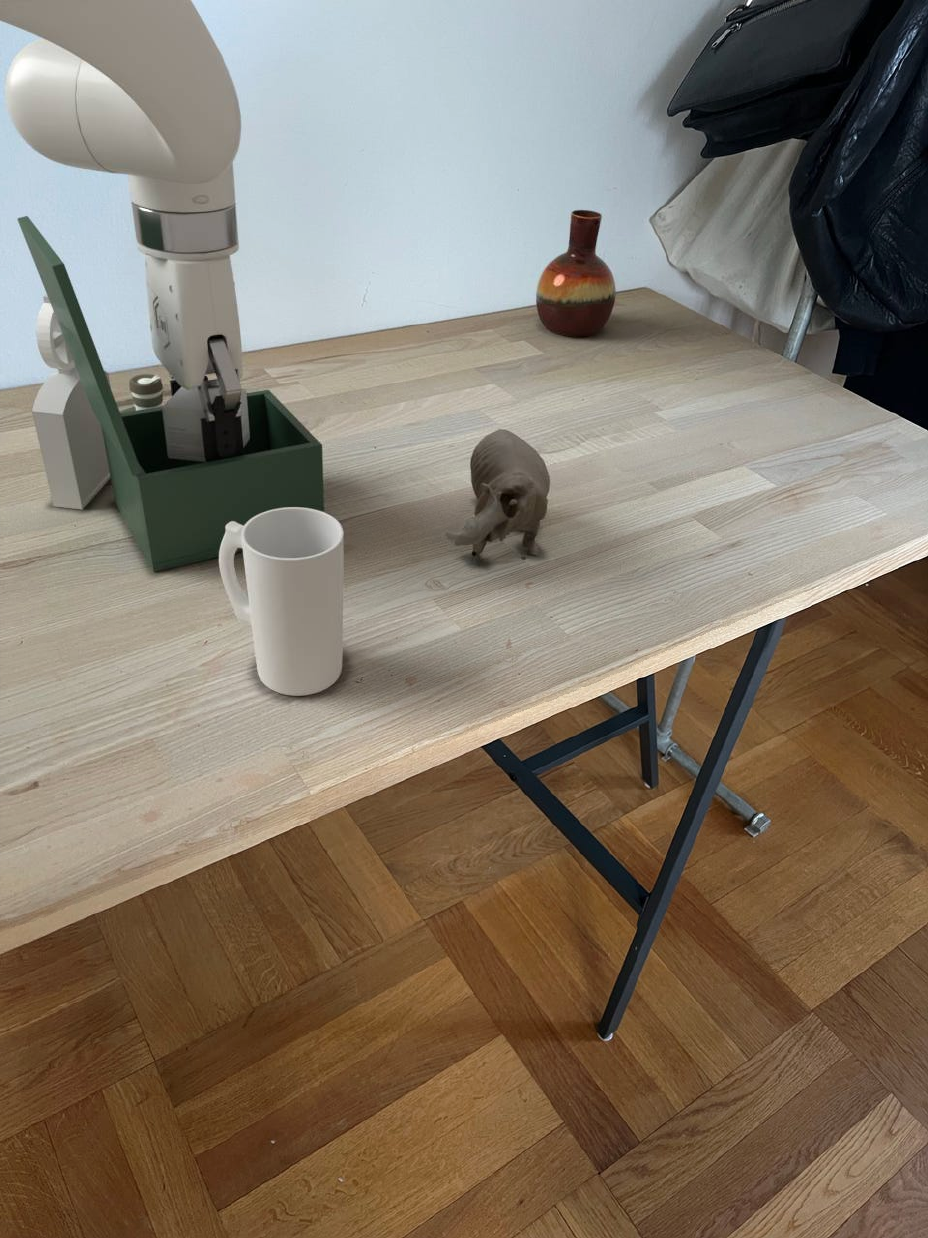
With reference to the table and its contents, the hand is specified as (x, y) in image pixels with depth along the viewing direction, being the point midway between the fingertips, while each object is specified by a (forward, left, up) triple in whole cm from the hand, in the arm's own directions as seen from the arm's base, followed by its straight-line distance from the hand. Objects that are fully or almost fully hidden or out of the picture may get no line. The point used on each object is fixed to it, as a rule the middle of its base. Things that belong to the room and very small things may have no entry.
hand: (208, 439), depth 81 cm
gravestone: (-9, +11, -8) cm, 16 cm away
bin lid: (-9, 0, +9) cm, 13 cm away
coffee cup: (0, +22, -8) cm, 24 cm away
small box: (0, 0, -1) cm, 1 cm away
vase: (+62, +30, -8) cm, 70 cm away
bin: (0, 0, -8) cm, 8 cm away
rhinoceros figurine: (+21, -15, -8) cm, 27 cm away
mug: (-2, -22, -8) cm, 23 cm away
